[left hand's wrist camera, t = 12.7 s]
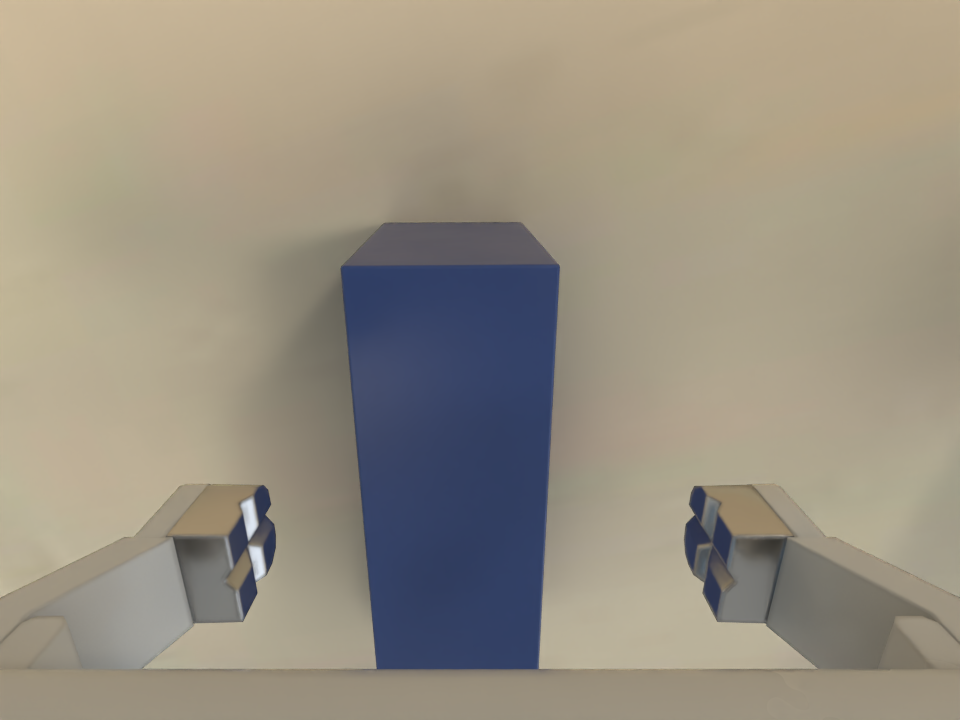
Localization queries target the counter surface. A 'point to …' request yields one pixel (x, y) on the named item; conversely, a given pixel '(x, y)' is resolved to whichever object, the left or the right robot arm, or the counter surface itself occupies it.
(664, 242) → the counter surface
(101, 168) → the counter surface
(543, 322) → the box
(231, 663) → the counter surface
